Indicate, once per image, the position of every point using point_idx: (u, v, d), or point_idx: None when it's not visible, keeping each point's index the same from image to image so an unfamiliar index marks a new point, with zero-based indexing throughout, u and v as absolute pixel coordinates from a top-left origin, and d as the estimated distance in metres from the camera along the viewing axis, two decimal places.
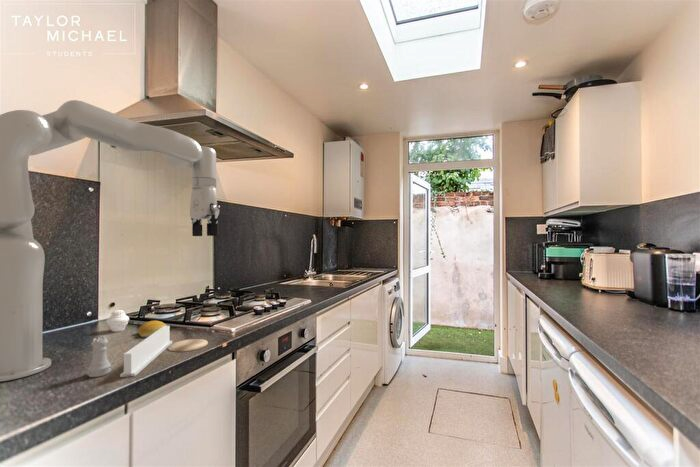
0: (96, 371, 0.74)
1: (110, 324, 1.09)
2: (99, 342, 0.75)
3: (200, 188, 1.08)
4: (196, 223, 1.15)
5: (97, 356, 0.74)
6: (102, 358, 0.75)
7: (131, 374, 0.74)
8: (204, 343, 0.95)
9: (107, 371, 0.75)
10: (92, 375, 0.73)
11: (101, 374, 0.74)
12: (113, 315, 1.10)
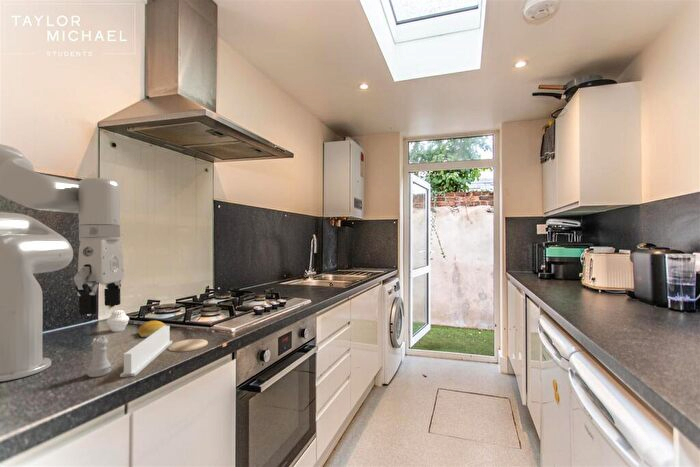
0: (96, 371, 0.74)
1: (110, 324, 1.09)
2: (99, 342, 0.75)
3: (118, 241, 0.79)
4: None
5: (97, 356, 0.74)
6: (102, 358, 0.75)
7: (131, 374, 0.74)
8: (204, 343, 0.95)
9: (107, 371, 0.75)
10: (92, 375, 0.73)
11: (101, 374, 0.74)
12: (113, 315, 1.10)
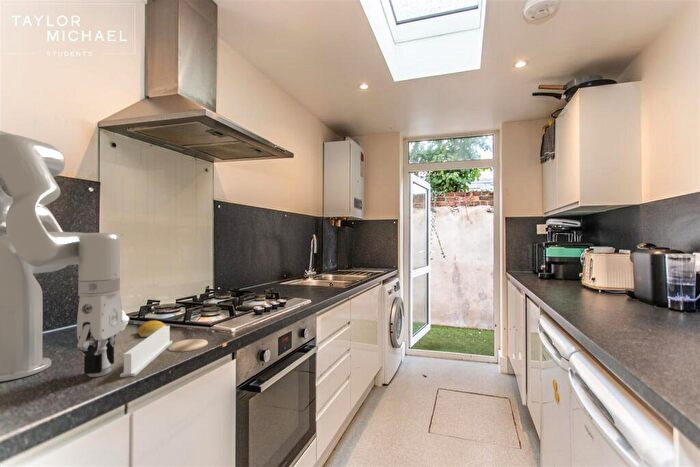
0: None
1: None
2: None
3: (117, 293, 0.79)
4: None
5: None
6: (102, 358, 0.75)
7: (131, 374, 0.74)
8: (204, 343, 0.95)
9: (107, 371, 0.75)
10: (92, 375, 0.73)
11: (101, 374, 0.74)
12: None
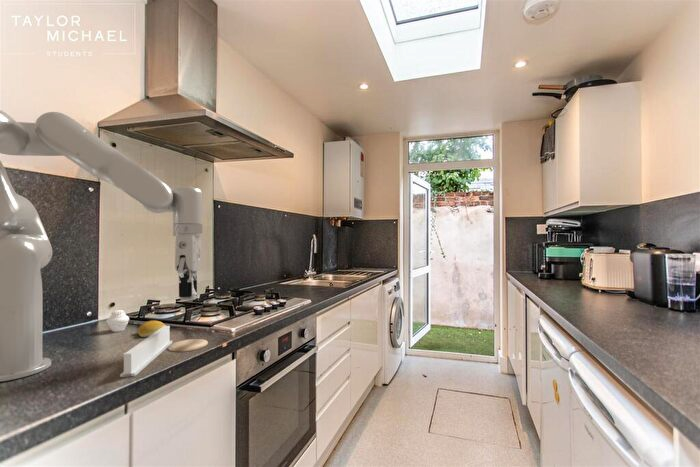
0: None
1: (110, 324, 1.09)
2: None
3: (199, 237, 0.98)
4: None
5: None
6: None
7: (131, 374, 0.74)
8: (204, 343, 0.95)
9: (195, 297, 0.95)
10: (184, 299, 0.93)
11: (191, 298, 0.93)
12: (113, 315, 1.10)
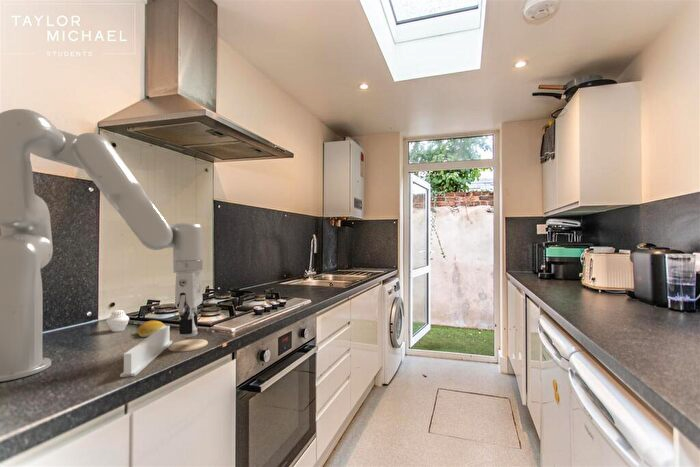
0: None
1: (110, 324, 1.09)
2: None
3: (200, 271, 0.98)
4: None
5: None
6: None
7: (131, 374, 0.74)
8: (204, 343, 0.95)
9: (195, 333, 0.95)
10: (185, 335, 0.93)
11: (192, 335, 0.93)
12: (113, 315, 1.10)
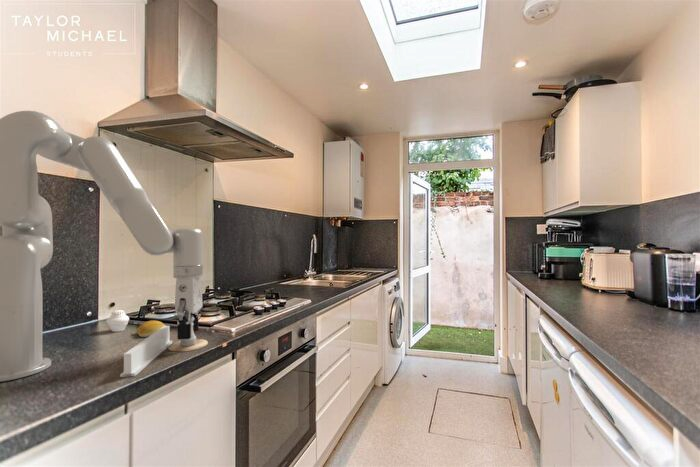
0: (187, 342, 0.93)
1: (110, 324, 1.09)
2: None
3: (200, 276, 0.98)
4: None
5: None
6: None
7: (131, 374, 0.74)
8: (204, 343, 0.95)
9: (194, 342, 0.94)
10: (184, 344, 0.93)
11: (191, 344, 0.93)
12: (113, 315, 1.10)
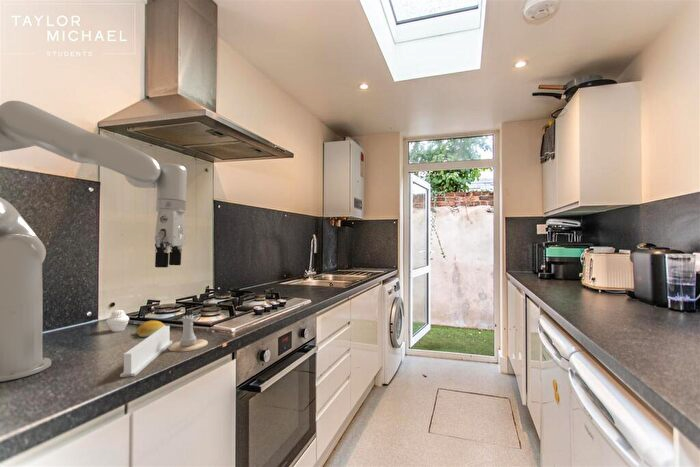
0: (187, 342, 0.93)
1: (110, 324, 1.09)
2: (188, 319, 0.94)
3: (183, 214, 1.00)
4: None
5: (187, 329, 0.94)
6: (190, 331, 0.94)
7: (131, 374, 0.74)
8: (204, 343, 0.95)
9: (194, 342, 0.94)
10: (184, 345, 0.93)
11: (190, 344, 0.93)
12: (113, 315, 1.10)
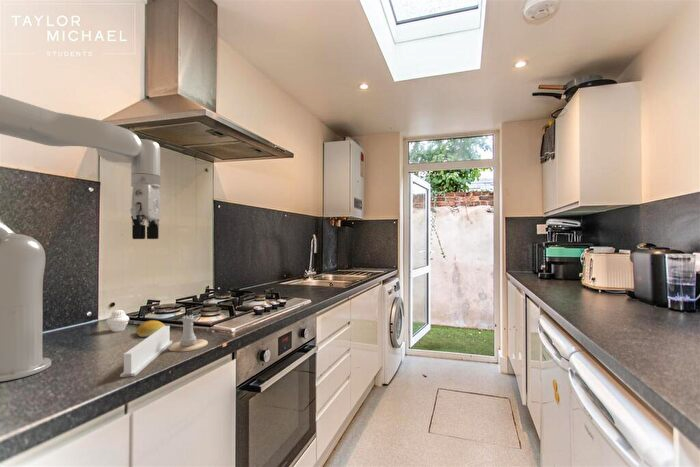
0: (187, 342, 0.93)
1: (110, 324, 1.09)
2: (188, 319, 0.94)
3: (158, 189, 1.04)
4: None
5: (187, 329, 0.94)
6: (190, 331, 0.94)
7: (131, 374, 0.74)
8: (204, 343, 0.95)
9: (194, 342, 0.94)
10: (184, 345, 0.93)
11: (190, 344, 0.93)
12: (113, 315, 1.10)
